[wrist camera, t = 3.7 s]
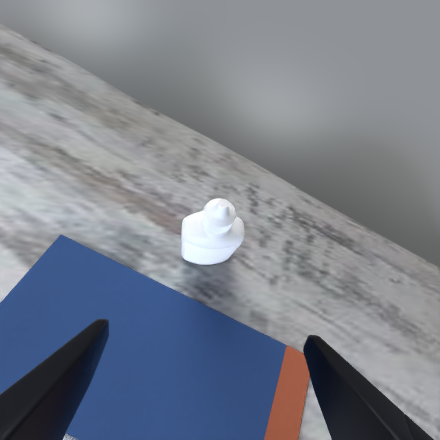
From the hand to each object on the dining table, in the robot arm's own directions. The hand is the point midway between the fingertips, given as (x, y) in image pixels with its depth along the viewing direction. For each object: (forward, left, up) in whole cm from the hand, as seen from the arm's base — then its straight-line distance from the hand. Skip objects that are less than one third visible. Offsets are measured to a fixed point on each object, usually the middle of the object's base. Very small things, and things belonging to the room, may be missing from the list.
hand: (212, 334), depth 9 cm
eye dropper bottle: (+2, -7, -14) cm, 16 cm away
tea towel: (+2, +5, -13) cm, 15 cm away
